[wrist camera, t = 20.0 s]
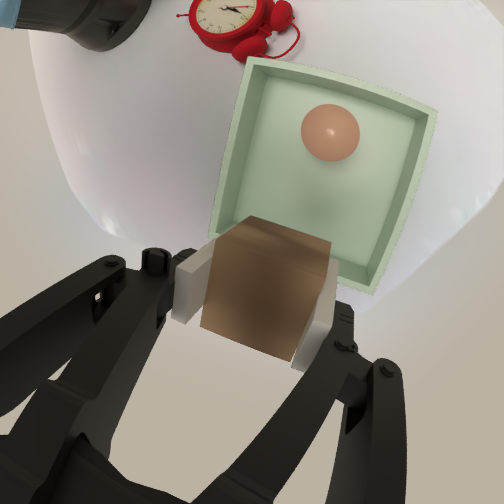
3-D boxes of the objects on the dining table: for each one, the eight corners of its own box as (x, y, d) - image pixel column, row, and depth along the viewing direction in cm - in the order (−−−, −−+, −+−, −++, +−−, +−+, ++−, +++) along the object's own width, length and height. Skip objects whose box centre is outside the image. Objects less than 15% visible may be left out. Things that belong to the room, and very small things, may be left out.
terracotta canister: (305, 151, 29) (294, 151, 23) (316, 108, 27) (308, 97, 21) (349, 165, 28) (351, 169, 22) (360, 122, 26) (366, 114, 20)
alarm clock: (214, -34, 20) (307, -7, 17) (239, -12, 26) (324, 23, 23) (164, 23, 25) (239, 64, 22) (194, 39, 30) (267, 85, 27)
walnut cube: (233, 285, 19) (199, 326, 14) (250, 215, 17) (215, 239, 12) (304, 312, 18) (289, 362, 13) (331, 242, 16) (326, 278, 11)
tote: (227, 223, 36) (207, 237, 31) (263, 69, 27) (247, 56, 22) (369, 273, 32) (372, 295, 27) (422, 116, 24) (437, 110, 19)
